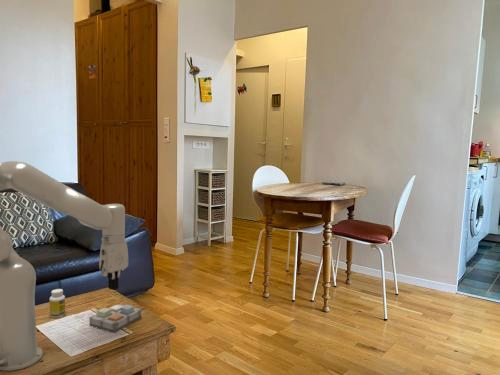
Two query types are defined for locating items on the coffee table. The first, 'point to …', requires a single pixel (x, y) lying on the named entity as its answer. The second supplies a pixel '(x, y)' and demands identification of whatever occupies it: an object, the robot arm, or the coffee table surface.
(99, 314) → the key sage
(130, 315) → the keypad
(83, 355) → the coffee table surface
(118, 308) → the key ivory
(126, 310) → the key slate
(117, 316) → the key terracotta
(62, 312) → the supplement bottle
